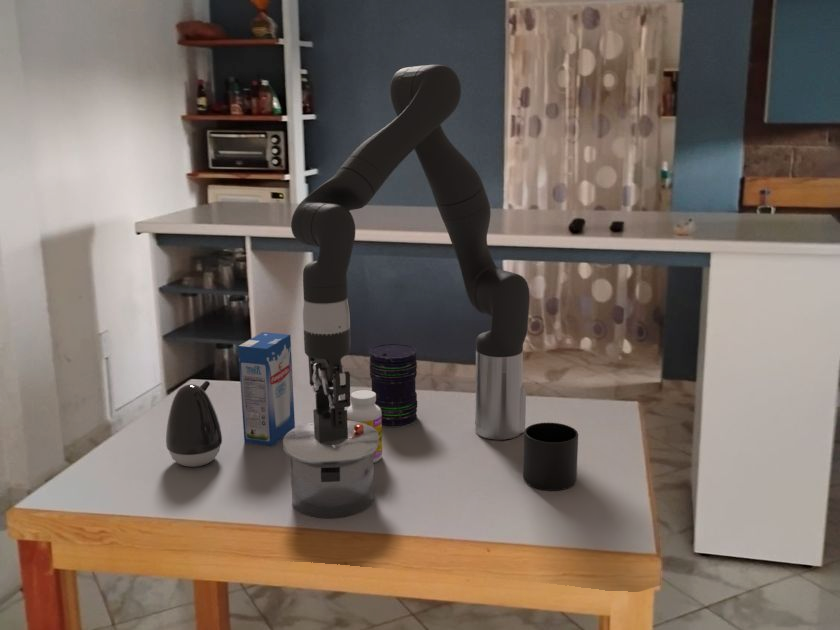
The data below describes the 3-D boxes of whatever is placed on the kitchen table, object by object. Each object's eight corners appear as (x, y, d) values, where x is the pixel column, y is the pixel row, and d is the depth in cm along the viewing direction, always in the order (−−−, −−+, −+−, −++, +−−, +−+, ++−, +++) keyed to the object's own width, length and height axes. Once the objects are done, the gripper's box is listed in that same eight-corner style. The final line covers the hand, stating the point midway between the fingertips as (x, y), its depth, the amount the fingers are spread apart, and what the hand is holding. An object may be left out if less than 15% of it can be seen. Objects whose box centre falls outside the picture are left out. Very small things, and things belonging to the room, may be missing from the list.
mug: (576, 464, 164) (578, 418, 162) (576, 493, 153) (578, 444, 151) (525, 460, 166) (526, 415, 164) (521, 489, 155) (522, 441, 152)
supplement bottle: (377, 467, 164) (376, 401, 161) (343, 464, 165) (340, 399, 162) (386, 452, 170) (384, 389, 167) (352, 449, 172) (350, 387, 168)
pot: (295, 477, 160) (292, 425, 157) (373, 474, 161) (371, 422, 158) (288, 525, 143) (285, 468, 140) (375, 521, 144) (374, 464, 141)
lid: (358, 420, 159) (357, 387, 158) (394, 453, 145) (393, 417, 144) (271, 435, 153) (269, 402, 151) (300, 471, 139) (298, 435, 137)
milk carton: (272, 446, 173) (266, 348, 168) (244, 442, 175) (237, 345, 170) (295, 427, 183) (290, 334, 177) (268, 424, 185) (262, 331, 179)
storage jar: (390, 406, 194) (388, 341, 190) (426, 416, 188) (426, 348, 184) (361, 420, 186) (359, 352, 182) (398, 431, 180) (397, 361, 176)
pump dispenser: (235, 455, 170) (230, 379, 166) (200, 476, 161) (194, 397, 157) (192, 446, 174) (186, 372, 170) (156, 467, 165) (149, 390, 161)
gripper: (364, 333, 139) (367, 432, 143) (333, 312, 152) (336, 403, 156) (319, 340, 136) (323, 440, 140) (291, 317, 148) (295, 410, 153)
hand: (330, 420), depth 148 cm, fingers open, 7 cm apart
